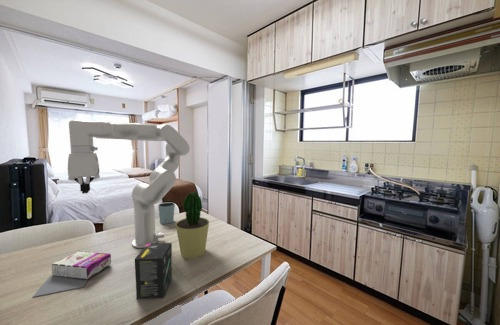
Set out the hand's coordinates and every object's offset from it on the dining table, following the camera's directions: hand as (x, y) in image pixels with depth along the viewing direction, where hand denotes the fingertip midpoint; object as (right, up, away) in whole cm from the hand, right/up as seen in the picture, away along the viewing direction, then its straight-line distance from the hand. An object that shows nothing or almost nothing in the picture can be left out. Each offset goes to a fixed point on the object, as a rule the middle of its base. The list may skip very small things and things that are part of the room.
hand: (85, 192), depth 89 cm
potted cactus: (+43, -31, +12) cm, 54 cm away
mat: (+2, -32, -11) cm, 34 cm away
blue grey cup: (+15, -27, +51) cm, 59 cm away
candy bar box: (+11, -29, -6) cm, 31 cm away
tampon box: (+36, -33, -14) cm, 51 cm away
